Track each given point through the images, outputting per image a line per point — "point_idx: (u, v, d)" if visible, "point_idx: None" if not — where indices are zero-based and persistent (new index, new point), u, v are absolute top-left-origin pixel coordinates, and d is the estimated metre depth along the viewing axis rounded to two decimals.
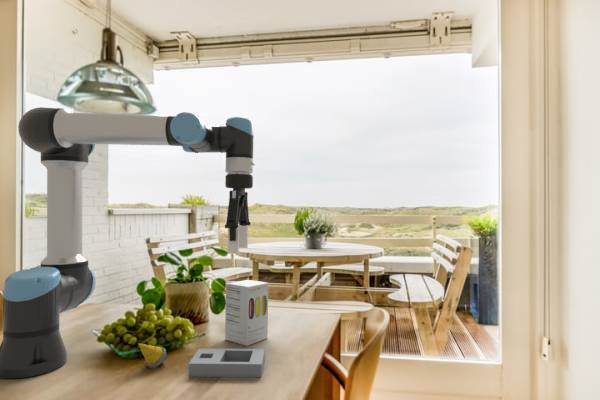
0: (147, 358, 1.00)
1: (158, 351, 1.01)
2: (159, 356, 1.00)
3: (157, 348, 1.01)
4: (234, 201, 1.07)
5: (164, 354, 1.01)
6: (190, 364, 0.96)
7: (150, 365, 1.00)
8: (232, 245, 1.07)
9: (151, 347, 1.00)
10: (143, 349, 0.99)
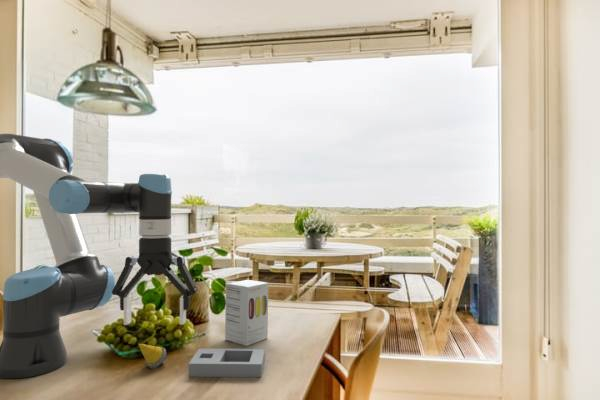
0: (147, 358, 1.00)
1: (158, 351, 1.01)
2: (159, 356, 1.00)
3: (157, 348, 1.01)
4: None
5: (164, 354, 1.01)
6: (190, 364, 0.96)
7: (150, 365, 1.00)
8: None
9: (151, 347, 1.00)
10: (143, 349, 0.99)
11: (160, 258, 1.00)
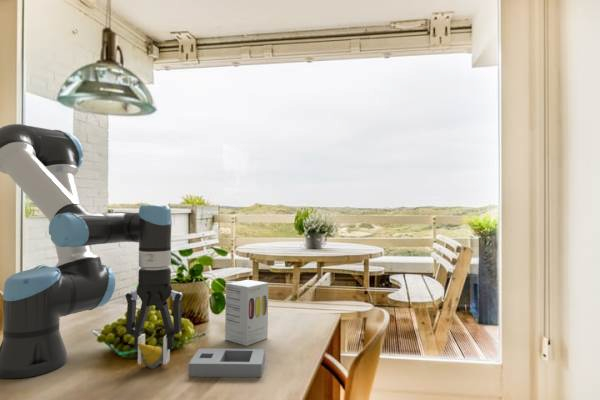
0: (146, 358, 1.00)
1: (157, 351, 1.01)
2: (158, 356, 1.00)
3: (156, 348, 1.01)
4: None
5: None
6: (190, 364, 0.96)
7: (149, 365, 1.00)
8: None
9: (150, 347, 1.00)
10: (142, 349, 0.99)
11: (161, 287, 1.00)
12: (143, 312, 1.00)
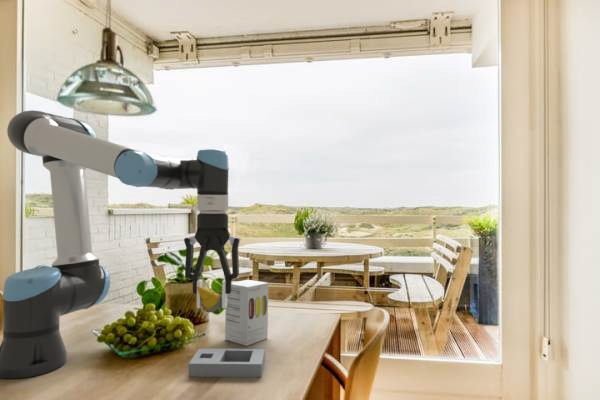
0: (205, 302, 1.00)
1: (215, 296, 1.01)
2: (217, 300, 1.01)
3: (214, 293, 1.01)
4: None
5: (221, 299, 1.01)
6: (190, 364, 0.96)
7: (208, 309, 1.00)
8: None
9: (209, 291, 1.00)
10: (202, 292, 0.99)
11: (219, 231, 1.00)
12: (202, 256, 1.00)
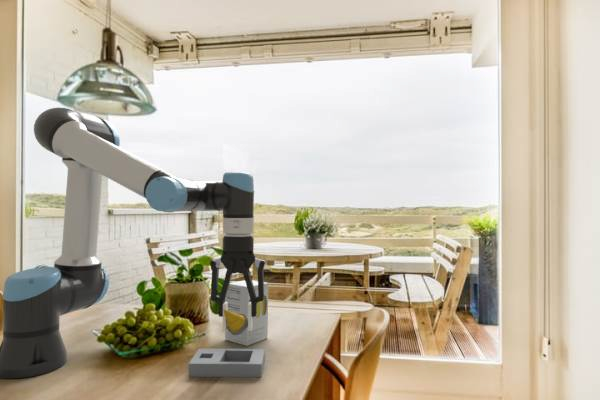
0: (231, 325, 1.00)
1: (241, 318, 1.01)
2: (243, 323, 1.01)
3: (240, 315, 1.01)
4: None
5: (247, 321, 1.01)
6: (190, 364, 0.96)
7: (234, 332, 1.00)
8: None
9: (235, 314, 1.00)
10: (228, 315, 0.99)
11: (245, 254, 1.00)
12: (228, 279, 1.00)
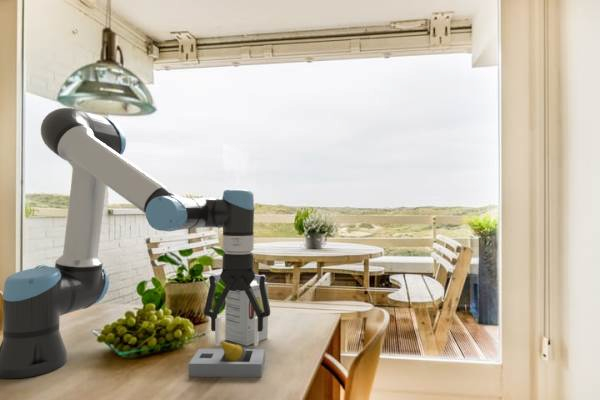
0: (229, 356, 1.00)
1: (239, 349, 1.01)
2: (240, 354, 1.01)
3: (237, 346, 1.02)
4: None
5: (244, 352, 1.01)
6: (190, 364, 0.96)
7: None
8: None
9: (232, 345, 1.00)
10: (225, 347, 0.99)
11: (244, 273, 1.00)
12: (224, 296, 1.00)
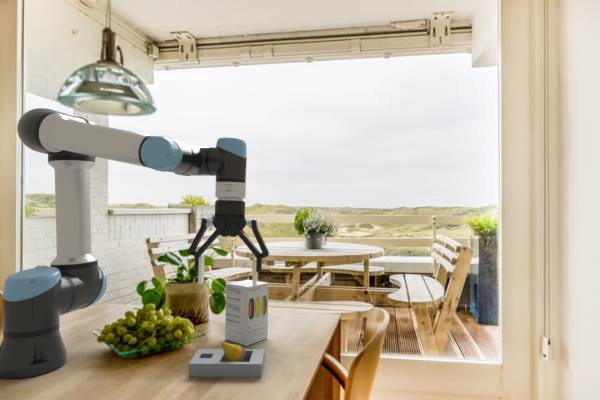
0: (229, 356, 1.00)
1: (239, 349, 1.01)
2: (240, 354, 1.01)
3: (237, 346, 1.01)
4: None
5: (244, 352, 1.01)
6: (190, 364, 0.96)
7: None
8: None
9: (232, 345, 1.00)
10: (225, 347, 0.99)
11: (235, 220, 1.03)
12: (212, 239, 1.02)
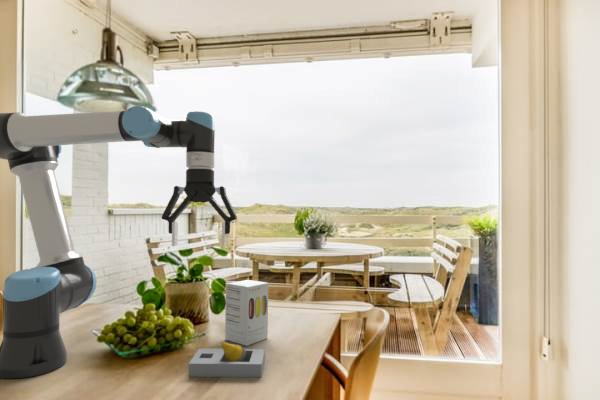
0: (229, 356, 1.00)
1: (239, 349, 1.01)
2: (240, 354, 1.01)
3: (237, 346, 1.01)
4: None
5: (244, 352, 1.01)
6: (190, 364, 0.96)
7: None
8: None
9: (232, 345, 1.00)
10: (225, 347, 0.99)
11: (205, 187, 1.12)
12: (184, 204, 1.12)
